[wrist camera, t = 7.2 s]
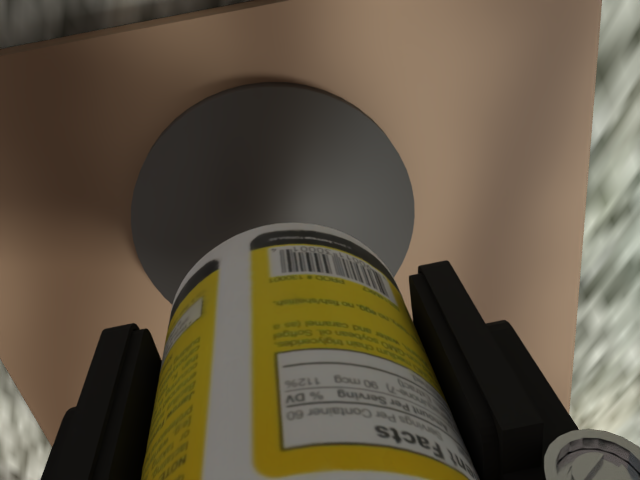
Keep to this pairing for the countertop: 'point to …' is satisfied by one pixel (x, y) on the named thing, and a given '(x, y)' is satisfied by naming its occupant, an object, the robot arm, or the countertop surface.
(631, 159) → the countertop surface
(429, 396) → the supplement bottle
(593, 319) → the countertop surface
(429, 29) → the pin board
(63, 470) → the robot arm
